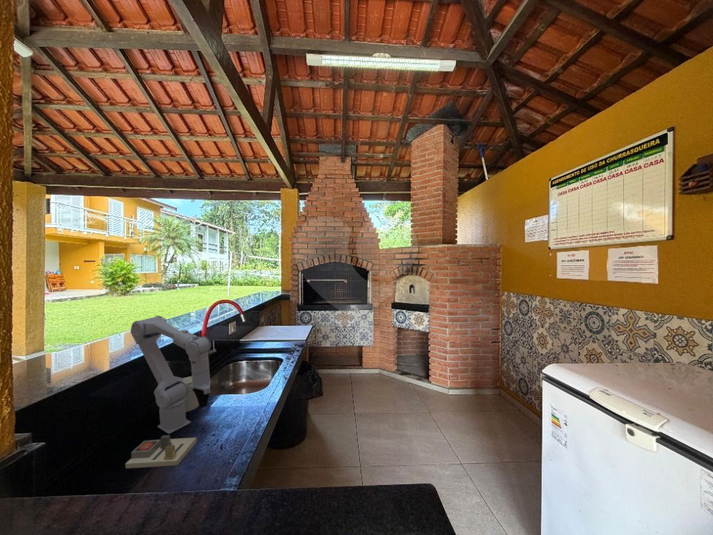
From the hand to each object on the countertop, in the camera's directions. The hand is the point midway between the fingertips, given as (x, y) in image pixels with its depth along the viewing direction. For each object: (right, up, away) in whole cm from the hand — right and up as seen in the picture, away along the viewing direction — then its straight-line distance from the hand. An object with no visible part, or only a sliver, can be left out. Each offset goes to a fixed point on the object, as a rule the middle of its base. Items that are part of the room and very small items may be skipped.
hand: (203, 406), depth 103 cm
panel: (-7, -10, -11) cm, 17 cm away
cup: (-17, -10, +18) cm, 26 cm away
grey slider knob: (-7, -8, -10) cm, 15 cm away
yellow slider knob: (-2, -8, -15) cm, 17 cm away
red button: (-12, -9, -12) cm, 19 cm away
